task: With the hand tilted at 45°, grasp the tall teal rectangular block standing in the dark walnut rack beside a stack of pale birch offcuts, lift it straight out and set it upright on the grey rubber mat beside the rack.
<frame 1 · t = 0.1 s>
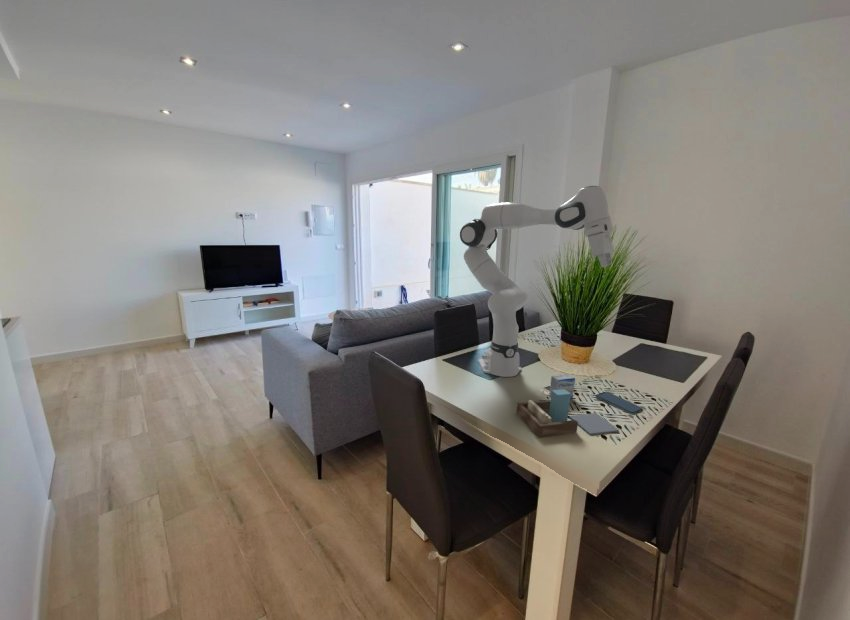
hand: (607, 266, 128), 52 cm above the table, tool tilted 20°, fingers open, 8 cm apart
offcut stack: (537, 423, 119), resting in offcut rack
medicine box: (560, 397, 138), on the table
teal rectangular block: (557, 421, 120), on the table
grey mat: (592, 424, 119), on the table
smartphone: (618, 405, 134), on the table
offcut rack: (549, 422, 120), on the table
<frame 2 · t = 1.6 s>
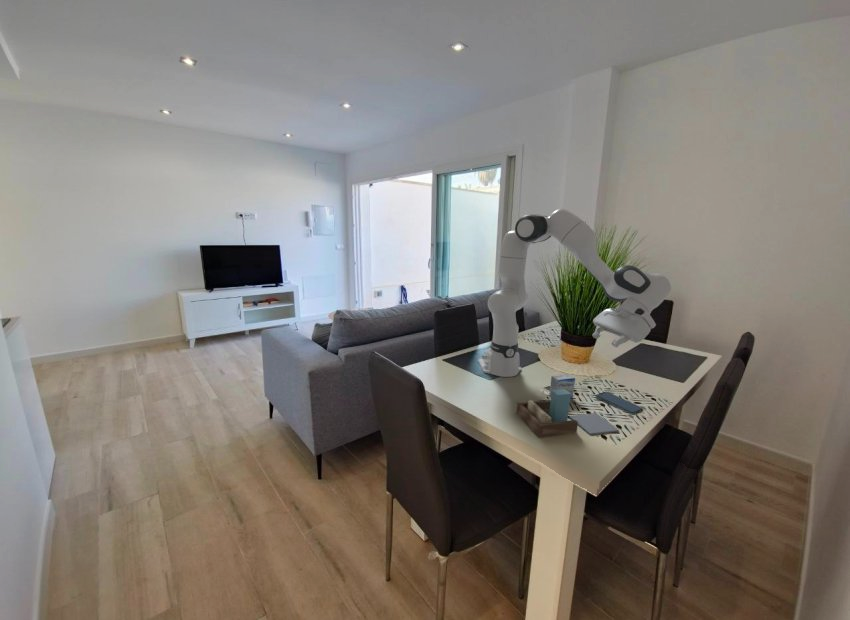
hand: (603, 341, 122), 27 cm above the table, tool tilted 45°, fingers open, 8 cm apart
nothing on the table moved.
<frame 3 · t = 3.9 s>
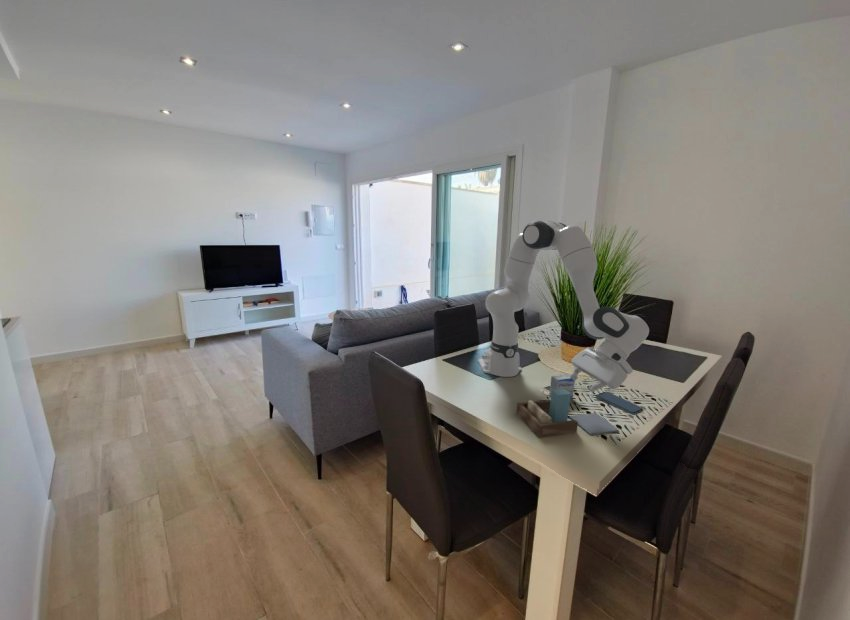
hand: (580, 384, 119), 13 cm above the table, tool tilted 45°, fingers open, 8 cm apart
nothing on the table moved.
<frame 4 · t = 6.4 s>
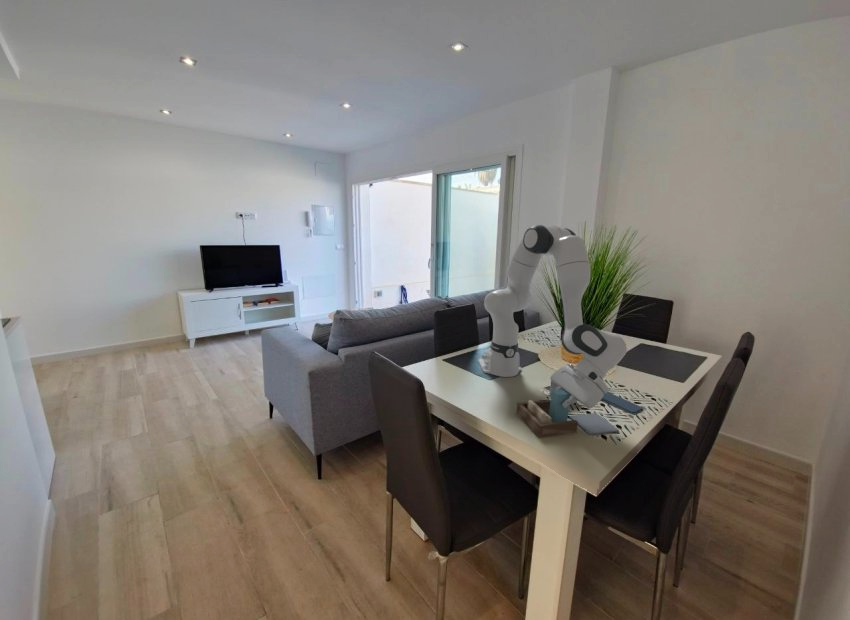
hand: (558, 402, 119), 7 cm above the table, tool tilted 45°, fingers closed on teal rectangular block, 3 cm apart
teal rectangular block: (557, 421, 120), on the table, touching gripper
everything else where it was.
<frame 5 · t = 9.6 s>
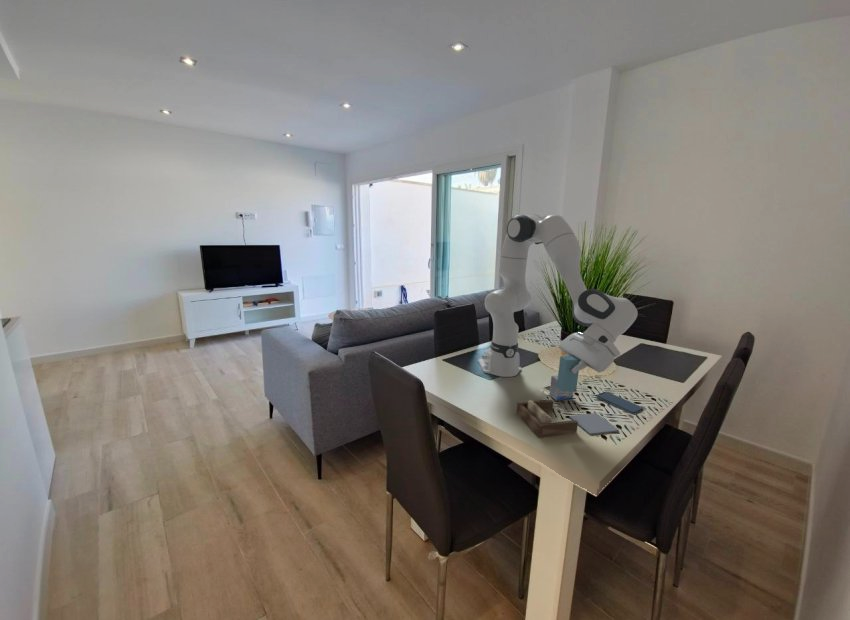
hand: (567, 368, 115), 20 cm above the table, tool tilted 45°, fingers closed on teal rectangular block, 3 cm apart
teal rectangular block: (566, 388, 117), point 12 cm above the table, touching gripper
everything else where it was.
when the fingers open (9 cm above the table, at t = 12.7 s): teal rectangular block stays where it is, resting on grey mat.
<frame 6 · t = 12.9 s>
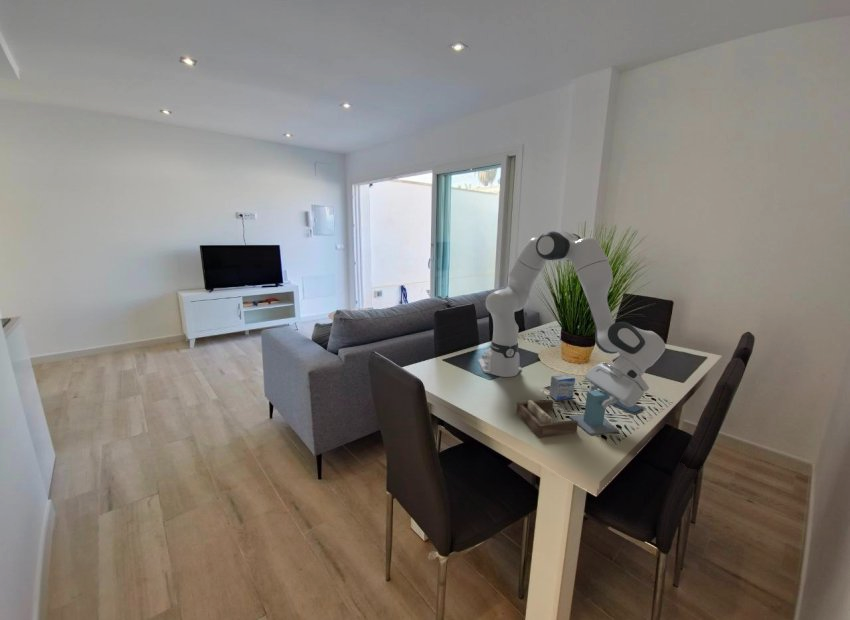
hand: (594, 401, 117), 9 cm above the table, tool tilted 45°, fingers open, 5 cm apart
teal rectangular block: (593, 422, 119), point 1 cm above the table, touching grey mat
everything else where it was.
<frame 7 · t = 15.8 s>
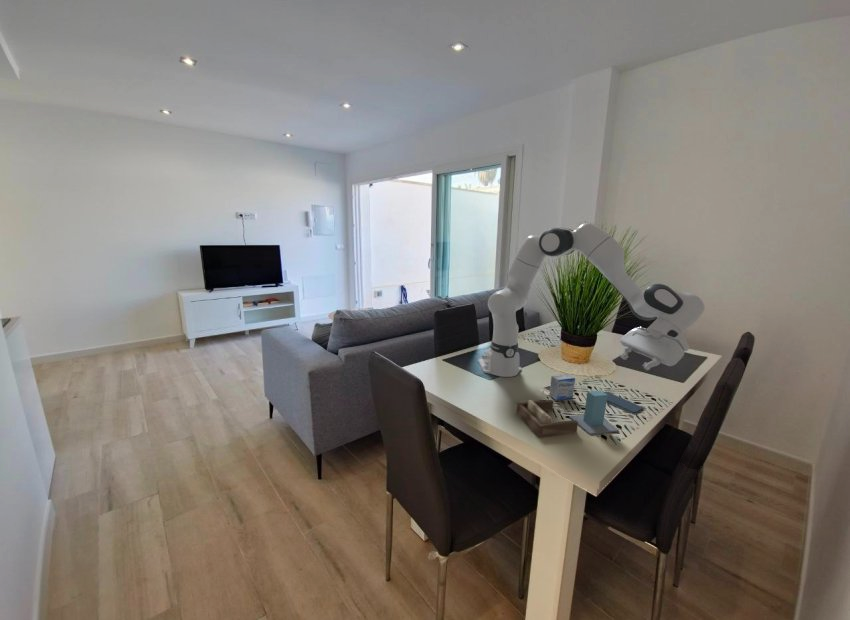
hand: (633, 363, 117), 22 cm above the table, tool tilted 45°, fingers open, 8 cm apart
nothing on the table moved.
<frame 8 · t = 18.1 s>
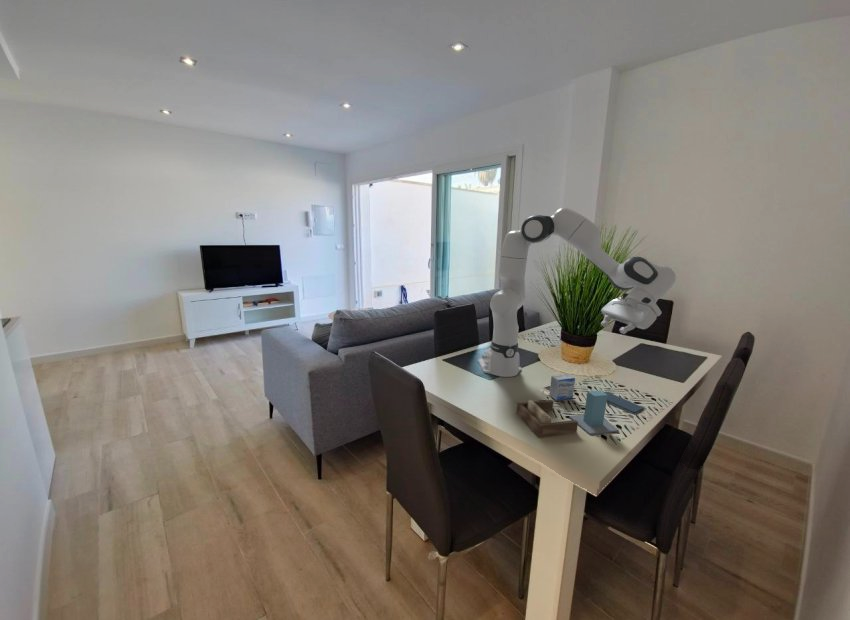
hand: (611, 328, 129), 29 cm above the table, tool tilted 45°, fingers open, 8 cm apart
nothing on the table moved.
at the end: teal rectangular block inside the target area (0.1 cm from its centre), point 0.6 cm above the table; teal rectangular block tilted 0°; offcut stack moved 0.1 cm from its start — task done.
